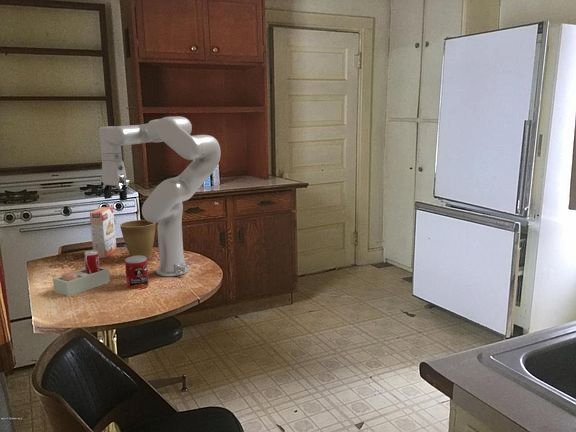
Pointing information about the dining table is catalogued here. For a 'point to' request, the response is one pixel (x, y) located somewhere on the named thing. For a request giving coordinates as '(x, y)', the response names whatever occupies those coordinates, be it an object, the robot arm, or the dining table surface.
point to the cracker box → (103, 231)
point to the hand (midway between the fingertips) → (115, 199)
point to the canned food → (136, 272)
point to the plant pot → (139, 237)
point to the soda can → (91, 262)
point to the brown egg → (70, 276)
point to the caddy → (81, 282)
